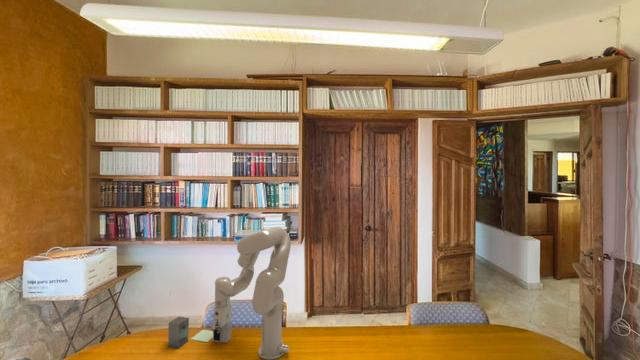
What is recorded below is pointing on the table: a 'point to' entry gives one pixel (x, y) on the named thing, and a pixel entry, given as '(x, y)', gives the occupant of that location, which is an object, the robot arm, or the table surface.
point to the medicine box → (224, 333)
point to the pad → (203, 336)
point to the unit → (178, 332)
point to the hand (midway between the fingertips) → (222, 335)
